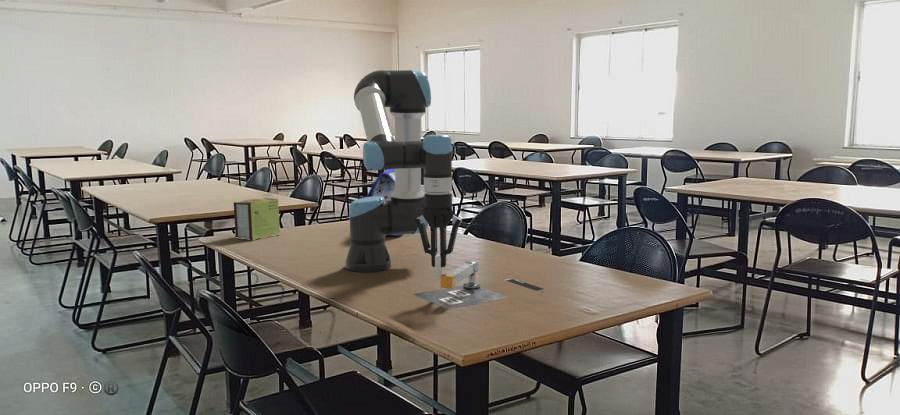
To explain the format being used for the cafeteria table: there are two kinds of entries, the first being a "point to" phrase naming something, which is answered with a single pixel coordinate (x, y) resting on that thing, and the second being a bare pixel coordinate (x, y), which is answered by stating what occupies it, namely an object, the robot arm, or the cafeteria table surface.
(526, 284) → the smartphone
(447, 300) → the label
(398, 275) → the cafeteria table surface
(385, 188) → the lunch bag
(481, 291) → the board
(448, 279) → the swing arm
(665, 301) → the cafeteria table surface
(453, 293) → the label
